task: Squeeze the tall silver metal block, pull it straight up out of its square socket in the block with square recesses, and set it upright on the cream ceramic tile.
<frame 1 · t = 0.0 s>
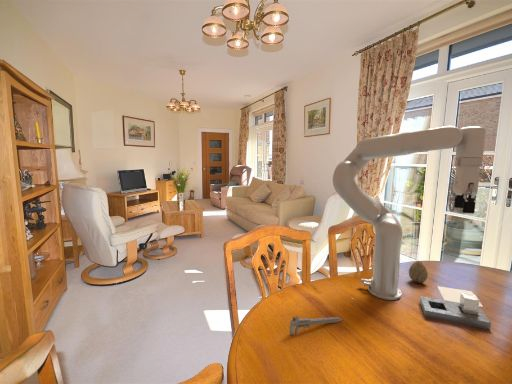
hand: (463, 210, 94), 37 cm above the table, tool pointing down, fingers open, 9 cm apart
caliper: (317, 328, 87), on the table
decorative egg: (417, 282, 117), on the table
steel block: (467, 317, 90), resting on block with square recesses
block with square recesses: (451, 316, 92), on the table
tile: (458, 297, 104), on the table
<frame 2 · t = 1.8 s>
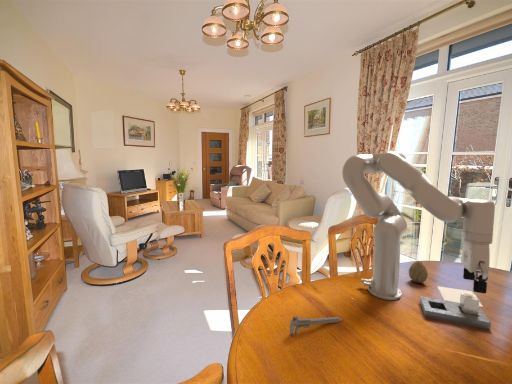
hand: (473, 285, 88), 13 cm above the table, tool pointing down, fingers open, 9 cm apart
nothing on the table moved.
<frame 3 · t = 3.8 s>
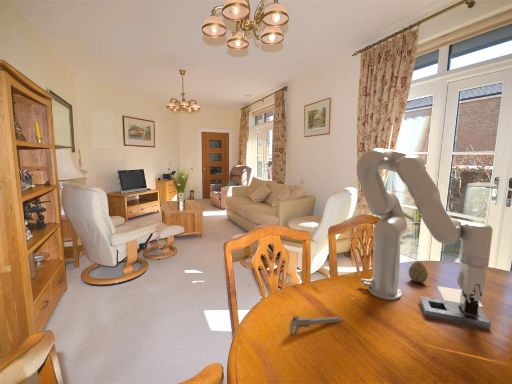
hand: (468, 309, 90), 4 cm above the table, tool pointing down, fingers closed on steel block, 4 cm apart
steel block: (467, 317, 90), point 1 cm above the table, touching gripper, block with square recesses
everything else where it was.
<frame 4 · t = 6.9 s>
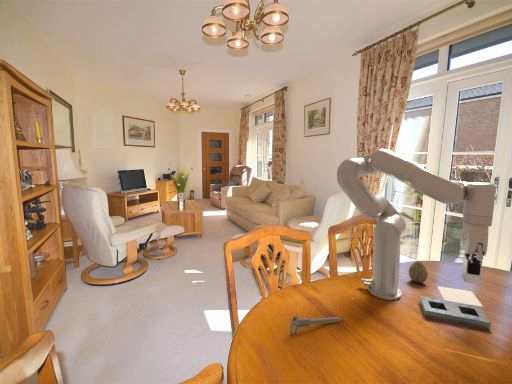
hand: (471, 270, 89), 17 cm above the table, tool pointing down, fingers closed on steel block, 4 cm apart
steel block: (470, 280, 90), point 14 cm above the table, touching gripper
everything else where it was.
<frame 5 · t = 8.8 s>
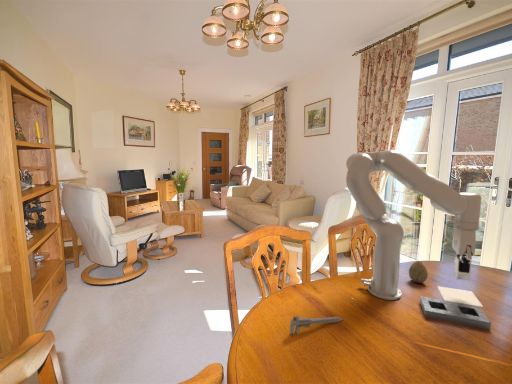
hand: (461, 269, 103), 12 cm above the table, tool pointing down, fingers closed on steel block, 4 cm apart
steel block: (461, 277, 103), point 8 cm above the table, touching gripper
everything else where it was.
when the fingers open (5 cm above the table, at t = 10.2 s): steel block drops 1 cm, resting on tile.
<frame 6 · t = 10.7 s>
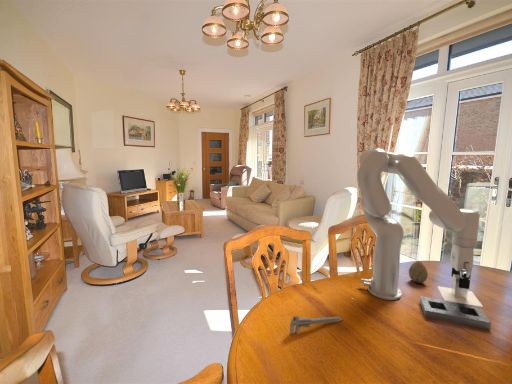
hand: (459, 282, 104), 6 cm above the table, tool pointing down, fingers open, 9 cm apart
steel block: (458, 295, 104), point 1 cm above the table, touching tile
everything else where it was.
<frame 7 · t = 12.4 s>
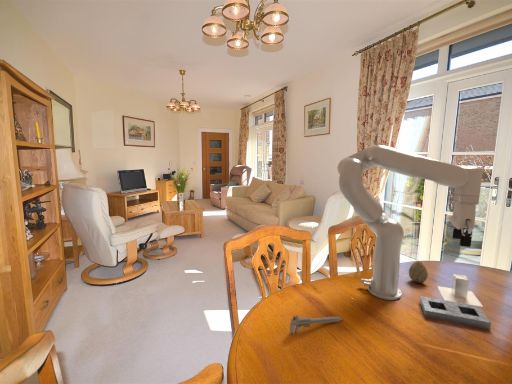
hand: (460, 242, 102), 23 cm above the table, tool pointing down, fingers open, 9 cm apart
nothing on the table moved.
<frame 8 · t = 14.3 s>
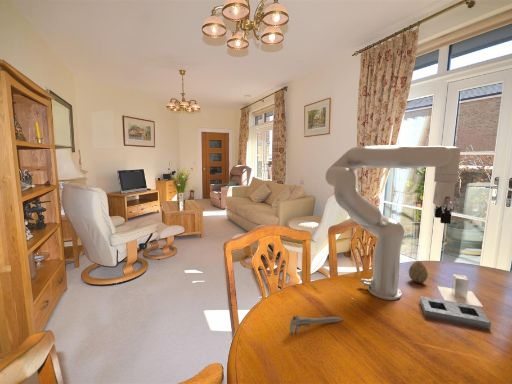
hand: (442, 220, 106), 30 cm above the table, tool pointing down, fingers open, 9 cm apart
nothing on the table moved.
at the end: steel block inside the target area on the tile (0.1 cm from its centre), point 0.6 cm above the tile's base; steel block tilted 0°; the gripper is holding nothing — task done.
